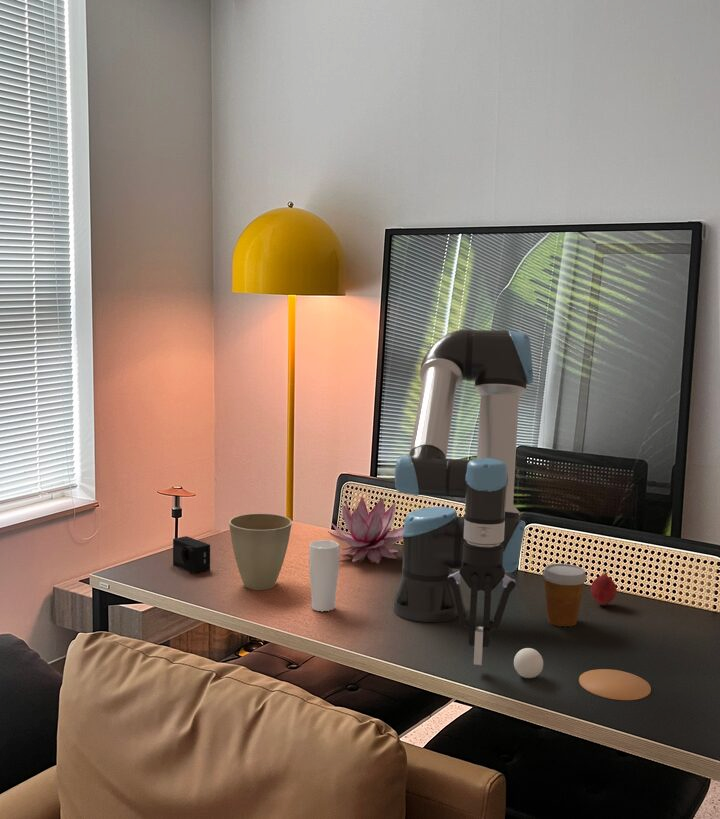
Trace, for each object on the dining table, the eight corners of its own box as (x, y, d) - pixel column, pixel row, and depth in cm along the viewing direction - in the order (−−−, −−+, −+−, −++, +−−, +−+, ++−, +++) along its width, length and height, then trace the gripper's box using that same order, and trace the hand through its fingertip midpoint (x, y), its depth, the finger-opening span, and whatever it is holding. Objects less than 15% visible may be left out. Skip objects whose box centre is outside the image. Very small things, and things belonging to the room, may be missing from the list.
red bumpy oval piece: (616, 610, 213) (618, 577, 212) (590, 608, 214) (592, 575, 213) (614, 602, 218) (616, 569, 217) (589, 600, 220) (591, 567, 218)
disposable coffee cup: (534, 614, 209) (537, 562, 208) (576, 614, 210) (579, 562, 208) (546, 630, 200) (549, 576, 198) (589, 629, 201) (593, 576, 199)
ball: (513, 681, 174) (514, 653, 173) (513, 669, 179) (514, 642, 178) (543, 684, 173) (544, 656, 172) (542, 672, 178) (543, 644, 177)
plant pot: (216, 590, 220) (217, 524, 217) (247, 572, 233) (248, 510, 231) (273, 599, 214) (274, 532, 212) (301, 580, 228) (302, 517, 226)
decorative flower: (408, 572, 237) (410, 514, 235) (325, 569, 237) (326, 512, 235) (406, 547, 258) (407, 495, 256) (329, 545, 258) (330, 492, 256)
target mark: (581, 696, 168) (581, 695, 168) (576, 667, 181) (576, 666, 181) (655, 703, 166) (656, 702, 166) (645, 673, 179) (645, 672, 179)
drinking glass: (343, 606, 211) (344, 542, 209) (329, 615, 205) (331, 550, 203) (316, 601, 214) (318, 538, 212) (302, 610, 208) (304, 545, 205)
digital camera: (168, 565, 237) (168, 539, 236) (186, 561, 241) (186, 535, 240) (192, 575, 230) (192, 548, 229) (210, 571, 234) (210, 544, 233)
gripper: (447, 544, 171) (442, 666, 174) (518, 549, 169) (512, 673, 172) (449, 534, 178) (444, 651, 182) (518, 538, 176) (512, 657, 180)
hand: (477, 661), depth 177 cm, fingers closed
